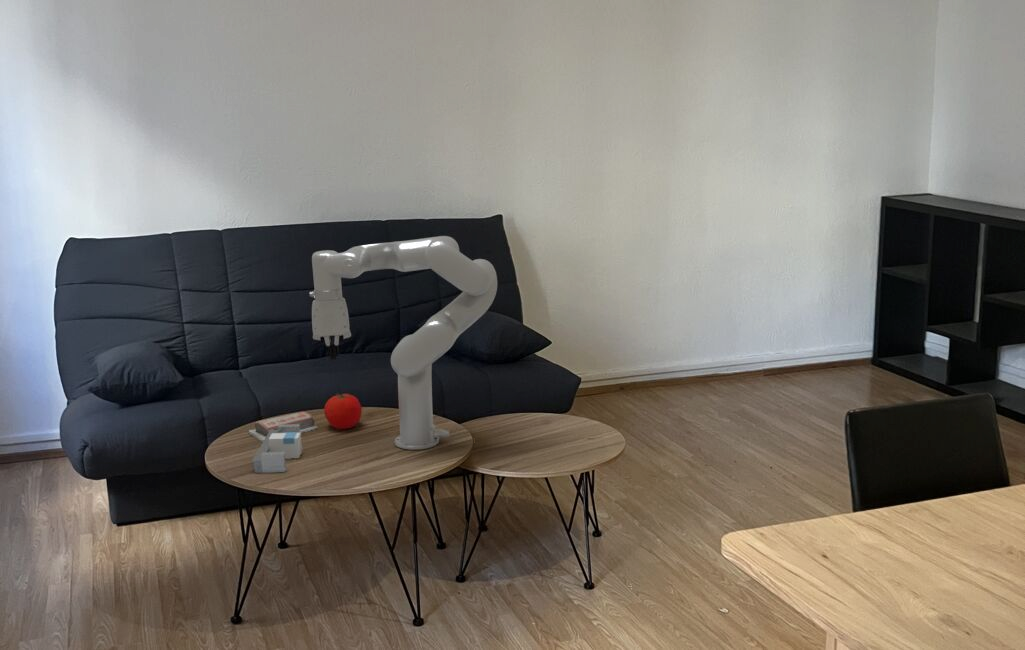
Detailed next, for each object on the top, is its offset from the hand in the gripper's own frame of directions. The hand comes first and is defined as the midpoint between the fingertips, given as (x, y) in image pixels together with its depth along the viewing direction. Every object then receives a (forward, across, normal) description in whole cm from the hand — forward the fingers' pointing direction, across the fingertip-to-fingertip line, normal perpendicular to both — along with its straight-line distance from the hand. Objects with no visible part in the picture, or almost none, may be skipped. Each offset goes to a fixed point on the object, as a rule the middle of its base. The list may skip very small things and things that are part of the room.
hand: (333, 358), depth 307 cm
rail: (+25, -17, -10) cm, 31 cm away
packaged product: (+25, -18, +12) cm, 33 cm away
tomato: (+25, 0, +14) cm, 29 cm away
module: (+25, -14, -10) cm, 30 cm away
